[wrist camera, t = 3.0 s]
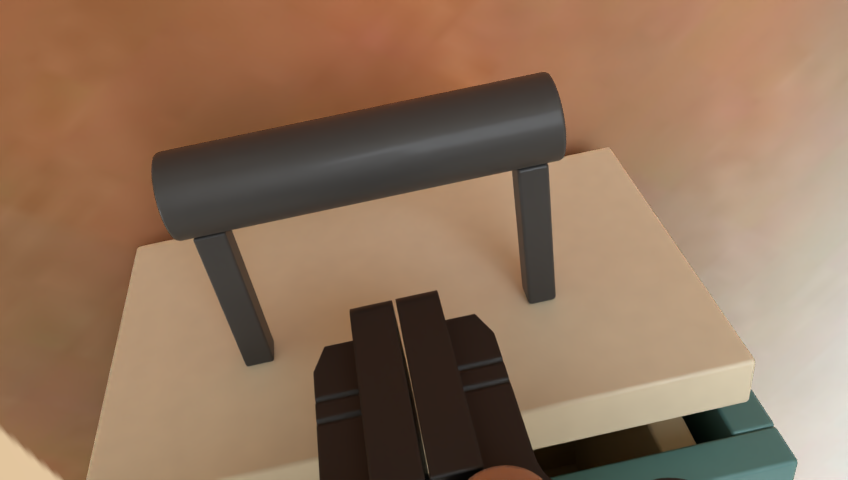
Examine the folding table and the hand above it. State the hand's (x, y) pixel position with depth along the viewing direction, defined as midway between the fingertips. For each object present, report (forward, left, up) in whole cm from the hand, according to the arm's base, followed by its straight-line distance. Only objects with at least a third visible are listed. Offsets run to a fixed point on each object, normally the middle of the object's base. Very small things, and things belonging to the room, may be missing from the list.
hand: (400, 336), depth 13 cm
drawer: (+6, 0, -7) cm, 9 cm away
